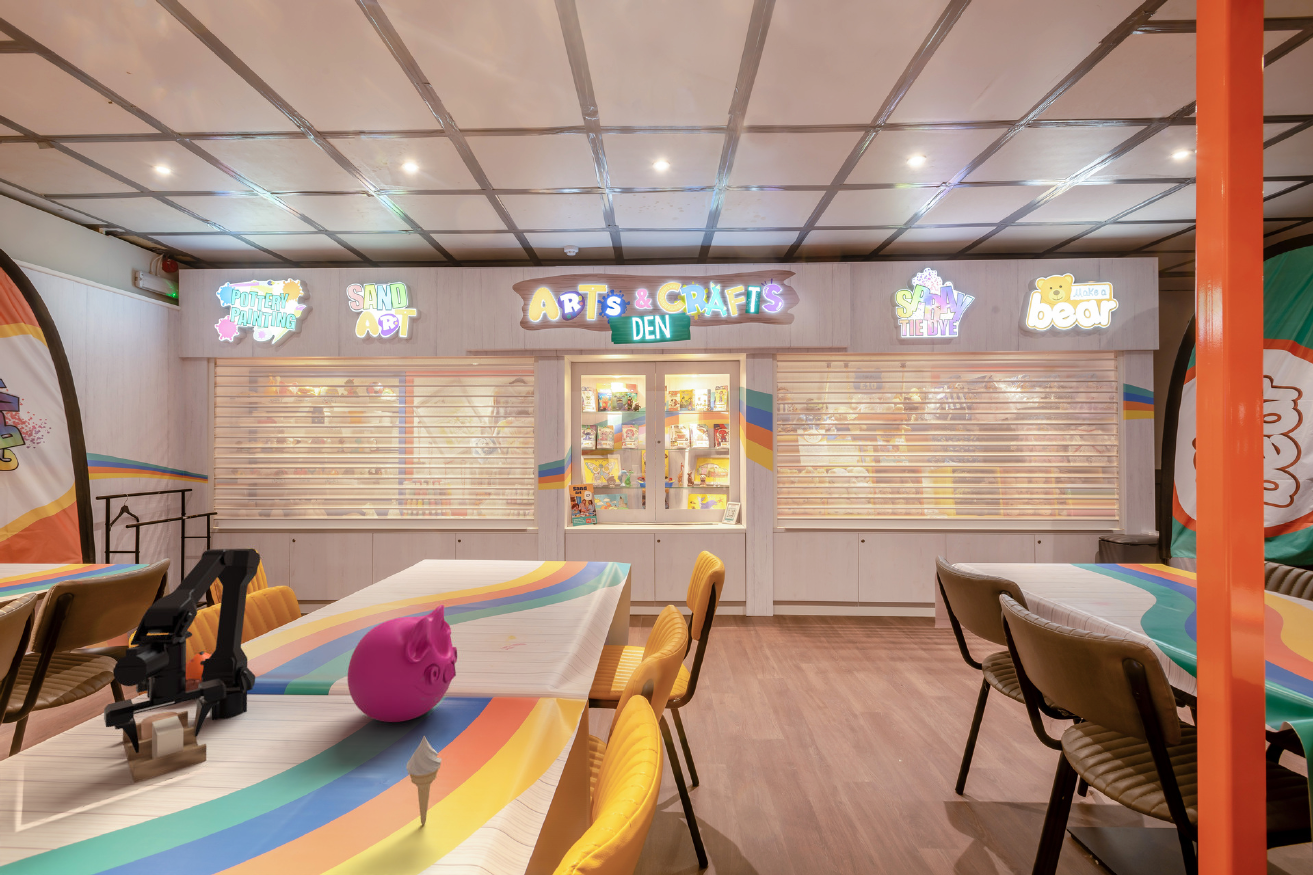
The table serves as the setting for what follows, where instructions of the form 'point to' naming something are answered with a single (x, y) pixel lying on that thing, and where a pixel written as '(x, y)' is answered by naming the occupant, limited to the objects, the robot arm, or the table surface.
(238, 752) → the table surface
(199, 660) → the orange rounded lump
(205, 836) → the table surface
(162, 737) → the cream rectangular block
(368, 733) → the table surface
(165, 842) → the table surface
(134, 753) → the rack
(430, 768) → the ice cream cone
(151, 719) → the peach rounded capsule
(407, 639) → the figurine
